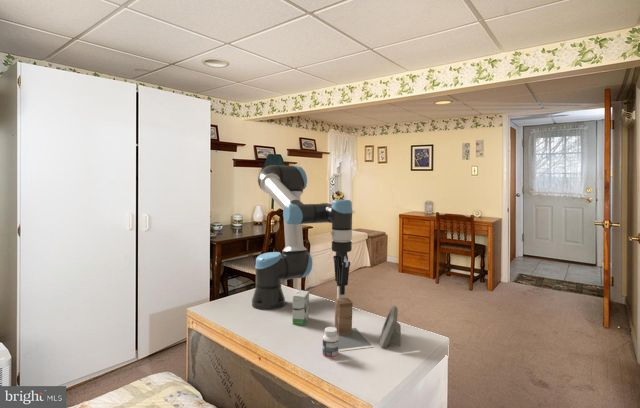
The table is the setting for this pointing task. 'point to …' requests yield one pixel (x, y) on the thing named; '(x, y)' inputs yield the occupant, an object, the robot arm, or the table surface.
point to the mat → (353, 341)
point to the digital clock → (391, 330)
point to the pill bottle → (330, 343)
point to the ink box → (300, 307)
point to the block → (343, 316)
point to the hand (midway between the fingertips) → (341, 301)
